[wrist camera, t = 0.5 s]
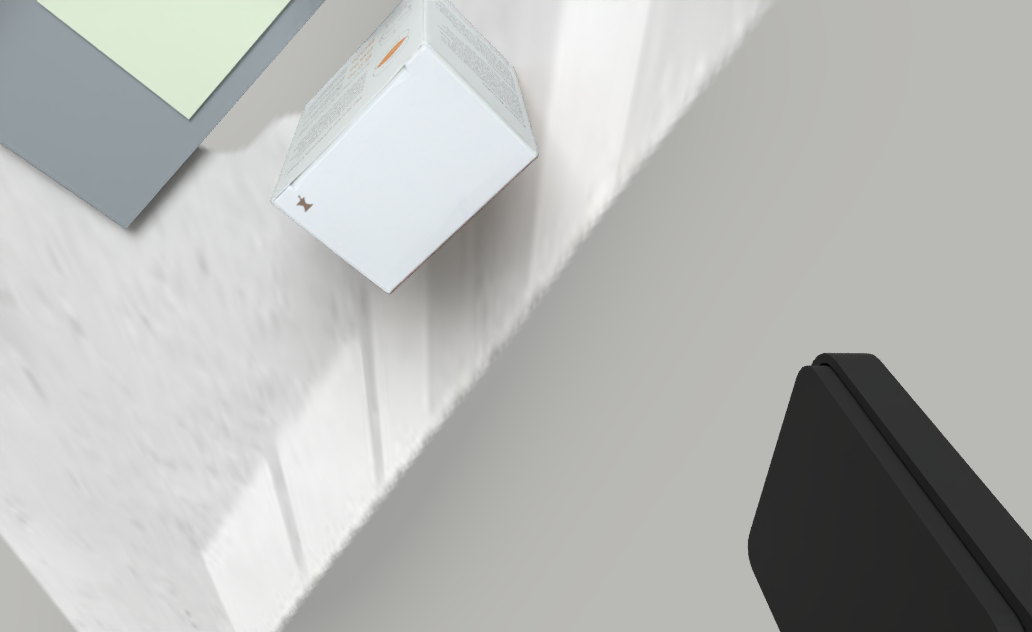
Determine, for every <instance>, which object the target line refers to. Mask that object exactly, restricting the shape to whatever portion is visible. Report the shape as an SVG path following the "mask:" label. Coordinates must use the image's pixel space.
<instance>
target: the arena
mask: <svg viewBox="0 0 1032 632" xmlns="http://www.w3.org/2000/svg"><path fill="white" fill-rule="evenodd" d="M324 1H325V0H290V1H289V3H288V4H287V5H286V6H285V7H284V8H283V10H282V11H281V12H280V13H279V14H278V15H277V17H276V18H275V19H274V20H273V21H272V23H271V24H270V25H269V26H268V27H267V28H266V30H265V31H264V32H263V33H262V34H261V35H260V37H259V38H258V39H257V40H256V41H255V42H254V44H253V45H252V46H251V47H250V48H249V50H248V51H247V52H246V53H245V54H244V55H243V57H242V58H241V59H240V60H239V61H238V62H237V64H236V65H235V66H234V67H233V68H232V69H231V71H230V72H229V73H228V74H227V75H226V76H225V78H224V79H223V80H222V81H221V82H220V84H219V85H218V86H217V87H216V88H215V89H214V91H213V92H212V93H211V94H210V95H209V96H208V98H207V99H206V100H205V101H204V102H203V103H202V105H201V106H200V107H199V108H198V109H197V111H196V112H195V113H194V114H193V115H192V116H191V118H190V119H188V118H186V117H185V116H184V115H182V114H181V113H180V112H179V111H177V110H176V109H175V108H173V107H172V106H171V105H170V104H168V103H167V102H166V101H164V100H163V99H162V98H161V97H159V96H158V95H157V94H156V93H154V92H153V91H152V90H150V89H149V88H148V87H147V86H145V85H144V84H143V83H141V82H140V81H139V80H138V79H136V78H135V77H134V76H132V75H131V74H130V73H129V72H127V71H126V70H125V69H123V68H122V67H121V66H120V65H118V64H117V63H116V62H114V61H113V60H112V59H111V58H109V57H108V56H107V55H105V54H104V53H103V52H102V51H100V50H99V49H98V48H96V47H95V46H94V45H93V44H91V43H90V42H89V41H87V40H86V39H85V38H84V37H82V36H81V35H80V34H78V33H77V32H76V31H75V30H73V29H72V28H71V27H69V26H68V25H67V24H66V23H64V22H63V21H62V20H60V19H59V18H58V17H57V16H55V15H54V14H53V13H52V12H50V11H49V10H48V9H46V8H45V7H44V6H43V5H41V4H40V3H39V2H37V0H0V143H1V144H3V145H4V146H6V147H7V148H9V149H10V150H12V151H13V152H14V153H16V154H17V155H19V156H20V157H22V158H23V159H25V160H26V161H28V162H29V163H30V164H32V165H33V166H35V167H36V168H38V169H39V170H41V171H42V172H44V173H45V174H46V175H48V176H49V177H51V178H52V179H54V180H55V181H57V182H58V183H60V184H61V185H62V186H64V187H65V188H67V189H68V190H70V191H71V192H73V193H74V194H76V195H77V196H78V197H80V198H81V199H83V200H84V201H86V202H87V203H89V204H90V205H92V206H93V207H94V208H96V209H97V210H99V211H100V212H102V213H103V214H105V215H106V216H108V217H109V218H110V219H112V220H113V221H115V222H116V223H118V224H119V225H121V226H122V227H123V228H125V229H127V227H128V226H129V225H130V224H131V223H132V222H133V220H134V219H135V218H136V217H137V216H138V215H139V214H140V212H141V211H142V210H143V209H144V208H145V207H146V206H147V204H148V203H149V202H150V201H151V200H152V199H153V197H154V196H155V195H156V194H157V193H158V192H159V191H160V189H161V188H162V187H163V186H164V185H165V184H166V183H167V181H168V180H169V179H170V178H171V177H172V176H173V175H174V173H175V172H176V171H177V170H178V169H179V168H180V166H181V165H182V164H183V163H184V162H185V161H186V160H187V158H188V157H189V156H190V155H191V154H192V153H193V152H194V150H195V149H196V148H197V147H198V146H199V145H200V144H201V142H202V141H203V140H204V139H205V138H206V136H207V135H208V134H209V133H210V132H211V131H212V130H213V129H214V127H215V126H216V125H217V124H218V123H219V122H220V121H221V119H222V118H223V117H224V116H225V115H226V114H227V112H228V111H229V110H230V109H231V108H232V107H233V105H234V104H235V103H236V102H237V101H238V100H239V99H240V98H241V96H242V95H243V94H244V93H245V92H246V91H247V89H248V88H249V87H250V86H251V85H252V84H253V83H254V81H255V80H256V79H257V78H258V77H259V76H260V74H261V73H262V72H263V71H264V70H265V69H266V68H267V67H268V65H269V64H270V63H271V62H272V61H273V60H274V58H275V57H276V56H277V55H278V54H279V53H280V51H281V50H282V49H283V48H284V47H285V46H286V45H287V44H288V42H289V41H290V40H291V39H292V38H293V37H294V36H295V34H296V33H297V32H298V31H299V30H300V29H301V27H302V26H303V25H304V24H305V23H306V22H307V21H308V19H309V18H310V17H311V16H312V15H313V14H314V12H315V11H316V10H317V9H318V8H319V7H320V6H321V5H322V3H323V2H324Z"/></svg>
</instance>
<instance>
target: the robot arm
mask: <svg viewBox="0 0 1032 632" xmlns="http://www.w3.org/2000/svg"><path fill="white" fill-rule="evenodd" d="M748 555H749V560H750V564H751V567H752V570H753V572H754V574H755V576H756V579H757V581H758V583H759V585H760V588H761V590H762V592H763V594H764V596H765V599H766V601H767V603H768V605H769V608H770V610H771V612H772V614H773V616H774V619H775V621H776V623H777V625H778V627H779V630H780V632H1032V540H1031V539H1030V538H1029V536H1028V535H1027V534H1026V533H1025V532H1024V530H1023V529H1022V528H1021V527H1020V526H1019V525H1018V523H1017V522H1016V521H1015V520H1014V519H1013V517H1012V516H1011V515H1010V514H1009V513H1008V512H1007V510H1006V509H1005V508H1004V507H1003V506H1002V504H1001V503H1000V502H999V501H998V500H997V499H996V497H995V496H994V495H993V494H992V493H991V491H990V490H989V489H988V488H987V487H986V486H985V484H984V483H983V482H982V481H981V479H980V478H979V477H978V476H977V475H976V474H975V472H974V471H973V470H972V469H971V468H970V466H969V465H968V464H967V463H966V462H965V461H964V459H963V458H962V457H961V456H960V455H959V453H958V452H957V451H956V450H955V449H954V448H953V446H952V445H951V444H950V443H949V442H948V440H947V439H946V438H945V437H944V436H943V435H942V433H941V432H940V431H939V430H938V428H937V427H936V426H935V425H934V424H933V423H932V421H931V420H930V419H929V418H928V417H927V415H926V414H925V413H924V412H923V411H922V409H921V408H920V407H919V406H918V405H917V404H916V402H915V401H914V400H913V399H912V398H911V396H910V395H909V394H908V393H907V392H906V391H905V389H904V388H903V387H902V386H901V385H900V383H899V382H898V381H897V380H896V379H895V377H894V376H893V375H892V374H891V373H890V372H889V371H888V369H887V368H886V367H885V366H884V364H883V363H882V362H881V361H880V360H879V359H878V358H877V357H876V356H874V355H872V354H867V353H823V354H820V355H818V356H817V357H816V359H815V360H814V361H813V363H812V365H811V366H804V367H802V369H801V370H800V371H799V373H798V375H797V378H796V381H795V385H794V388H793V391H792V394H791V398H790V401H789V404H788V408H787V411H786V414H785V418H784V421H783V424H782V427H781V431H780V434H779V438H778V441H777V444H776V447H775V451H774V454H773V457H772V461H771V464H770V467H769V471H768V474H767V477H766V481H765V484H764V487H763V491H762V494H761V497H760V501H759V504H758V507H757V510H756V514H755V517H754V520H753V524H752V527H751V531H750V534H749V539H748Z"/></svg>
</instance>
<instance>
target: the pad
mask: <svg viewBox="0 0 1032 632" xmlns="http://www.w3.org/2000/svg"><path fill="white" fill-rule="evenodd" d="M289 1H290V0H37V2H39V3H40V4H41V5H43V6H44V7H45V8H46V9H48V10H49V11H50V12H52V13H53V14H54V15H55V16H57V17H58V18H59V19H60V20H62V21H63V22H64V23H66V24H67V25H68V26H69V27H71V28H72V29H73V30H75V31H76V32H77V33H78V34H80V35H81V36H82V37H84V38H85V39H86V40H87V41H89V42H90V43H91V44H93V45H94V46H95V47H96V48H98V49H99V50H100V51H102V52H103V53H104V54H105V55H107V56H108V57H109V58H111V59H112V60H113V61H114V62H116V63H117V64H118V65H120V66H121V67H122V68H123V69H125V70H126V71H127V72H129V73H130V74H131V75H132V76H134V77H135V78H136V79H138V80H139V81H140V82H141V83H143V84H144V85H145V86H147V87H148V88H149V89H150V90H152V91H153V92H154V93H156V94H157V95H158V96H159V97H161V98H162V99H163V100H164V101H166V102H167V103H168V104H170V105H171V106H172V107H173V108H175V109H176V110H177V111H179V112H180V113H181V114H182V115H184V116H185V117H186V118H188V119H190V118H191V116H192V115H193V114H194V113H195V112H196V111H197V109H198V108H199V107H200V106H201V105H202V103H203V102H204V101H205V100H206V99H207V98H208V96H209V95H210V94H211V93H212V92H213V91H214V89H215V88H216V87H217V86H218V85H219V84H220V82H221V81H222V80H223V79H224V78H225V76H226V75H227V74H228V73H229V72H230V71H231V69H232V68H233V67H234V66H235V65H236V64H237V62H238V61H239V60H240V59H241V58H242V57H243V55H244V54H245V53H246V52H247V51H248V50H249V48H250V47H251V46H252V45H253V44H254V42H255V41H256V40H257V39H258V38H259V37H260V35H261V34H262V33H263V32H264V31H265V30H266V28H267V27H268V26H269V25H270V24H271V23H272V21H273V20H274V19H275V18H276V17H277V15H278V14H279V13H280V12H281V11H282V10H283V8H284V7H285V6H286V5H287V4H288V3H289Z"/></svg>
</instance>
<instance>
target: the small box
mask: <svg viewBox="0 0 1032 632" xmlns="http://www.w3.org/2000/svg"><path fill="white" fill-rule="evenodd" d="M537 157H538V149H537V146H536V142H535V139H534V135H533V132H532V129H531V126H530V122H529V119H528V115H527V111H526V108H525V104H524V101H523V98H522V94H521V91H520V88H519V84H518V80H517V77H516V74H515V71H514V67H513V66H512V65H511V64H510V63H509V62H508V61H507V59H506V58H505V57H504V56H503V55H502V54H501V53H500V52H499V51H498V50H497V49H496V48H495V47H494V46H493V45H492V44H491V43H490V42H489V40H488V39H487V38H486V37H485V36H484V35H483V34H482V33H481V32H480V31H479V30H478V29H477V28H476V27H475V26H474V25H473V24H472V23H471V22H470V21H469V20H468V19H467V18H466V17H465V16H464V15H463V14H462V13H461V12H460V11H459V10H458V9H457V8H456V7H455V5H454V4H453V3H452V2H451V1H450V0H403V1H402V2H401V3H400V4H399V5H398V6H397V7H396V9H395V10H394V11H393V12H392V13H391V14H390V15H389V16H388V17H387V18H386V19H385V20H384V22H383V23H382V24H381V25H380V26H379V27H378V28H377V29H376V30H375V31H374V32H373V33H372V35H371V36H370V37H369V38H368V39H367V40H366V41H365V42H364V43H363V44H362V46H361V47H360V48H359V49H358V50H357V51H356V52H355V53H354V54H353V55H352V56H351V57H350V59H348V61H347V62H346V63H345V64H344V65H343V66H342V67H341V68H340V69H339V70H338V72H337V73H336V74H335V75H334V76H333V77H332V78H331V79H330V80H329V81H328V82H327V84H326V85H325V86H324V87H323V88H322V89H321V90H320V91H319V92H318V93H317V94H316V95H315V96H314V97H313V98H312V99H311V100H310V101H309V102H308V104H307V105H306V106H305V108H304V111H303V113H302V116H301V119H300V121H299V124H298V126H297V129H296V132H295V135H294V137H293V140H292V143H291V145H290V148H289V151H288V154H287V156H286V159H285V162H284V165H283V168H282V171H281V174H280V176H279V179H278V182H277V184H276V187H275V190H274V193H273V195H272V197H271V200H270V201H271V203H272V204H273V205H274V206H276V207H277V208H278V209H279V210H281V211H282V212H283V213H285V214H286V215H287V216H288V217H290V218H291V219H292V220H293V221H295V222H296V223H297V224H298V225H300V226H301V227H302V228H304V229H305V230H306V231H307V232H309V233H310V234H311V235H312V236H314V237H315V238H316V239H318V240H319V241H320V242H321V243H323V244H324V245H325V246H326V247H328V248H329V249H330V250H332V251H333V252H334V253H336V254H337V255H338V256H339V257H341V258H342V259H343V260H344V261H346V262H347V263H348V264H350V265H351V266H352V267H353V268H355V269H356V270H357V271H358V272H360V273H361V274H362V275H364V276H365V277H366V278H368V279H369V280H370V281H371V282H373V283H374V284H375V285H377V286H378V287H379V288H381V289H382V290H383V291H384V292H386V293H387V294H391V293H392V292H393V291H394V290H395V289H396V288H397V287H398V286H399V285H400V284H401V283H403V282H404V281H405V280H406V279H407V278H408V277H409V276H410V275H411V274H412V273H413V272H414V271H416V270H417V269H418V268H419V267H420V266H421V265H422V264H423V263H424V262H425V261H426V260H427V259H428V258H429V257H431V256H432V255H433V254H434V253H435V252H436V251H437V250H438V249H439V248H440V247H441V246H442V245H443V244H444V243H446V242H447V241H448V240H449V239H450V238H451V237H452V236H453V235H454V234H455V233H456V232H457V231H458V230H459V229H461V228H462V227H463V226H464V225H465V224H466V223H467V222H468V221H469V220H470V219H471V218H472V217H473V216H474V215H475V214H477V213H478V212H479V211H480V210H481V209H482V208H483V207H484V206H485V205H486V204H487V203H488V202H489V201H490V200H491V199H493V198H494V197H495V196H496V195H497V194H498V193H499V192H500V191H501V190H502V189H504V188H505V187H506V186H507V185H508V184H509V183H510V182H511V181H512V180H513V179H514V178H515V177H517V176H518V175H519V174H520V173H521V172H522V171H523V170H524V169H525V168H526V167H527V166H528V165H529V164H530V163H532V162H533V161H534V160H535V159H536V158H537Z"/></svg>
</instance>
